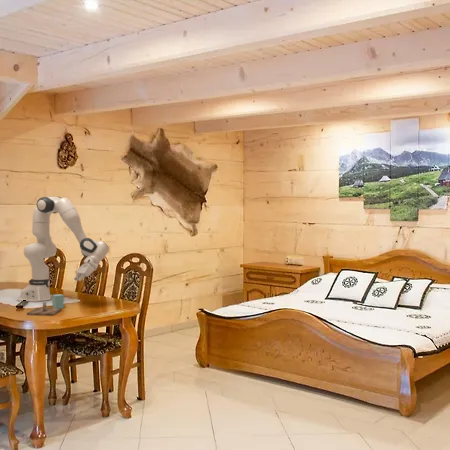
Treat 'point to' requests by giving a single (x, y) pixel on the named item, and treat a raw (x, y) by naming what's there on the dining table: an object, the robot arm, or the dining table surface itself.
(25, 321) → the dining table surface
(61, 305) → the teal rounded block
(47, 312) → the board
